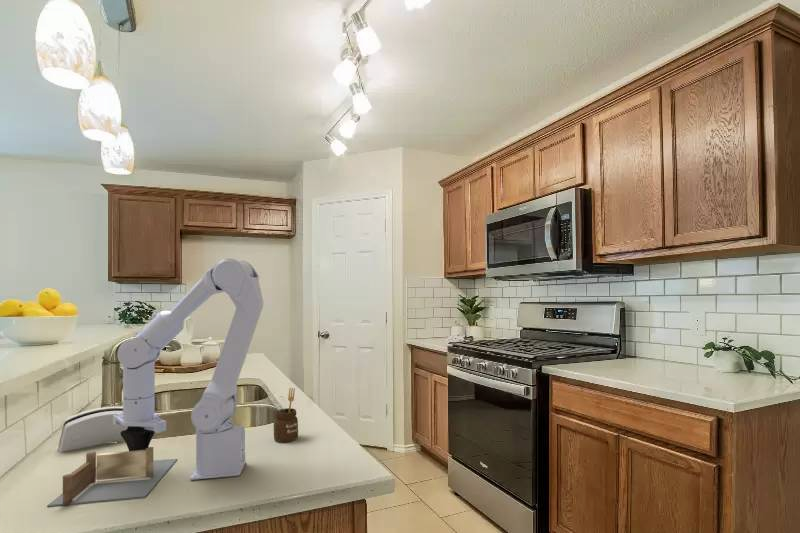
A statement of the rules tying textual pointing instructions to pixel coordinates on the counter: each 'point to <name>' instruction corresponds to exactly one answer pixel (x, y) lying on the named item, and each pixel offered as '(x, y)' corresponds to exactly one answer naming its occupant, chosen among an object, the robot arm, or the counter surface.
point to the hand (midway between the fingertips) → (138, 463)
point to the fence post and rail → (79, 479)
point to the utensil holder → (286, 422)
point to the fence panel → (125, 464)
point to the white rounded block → (90, 429)
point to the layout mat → (119, 487)
